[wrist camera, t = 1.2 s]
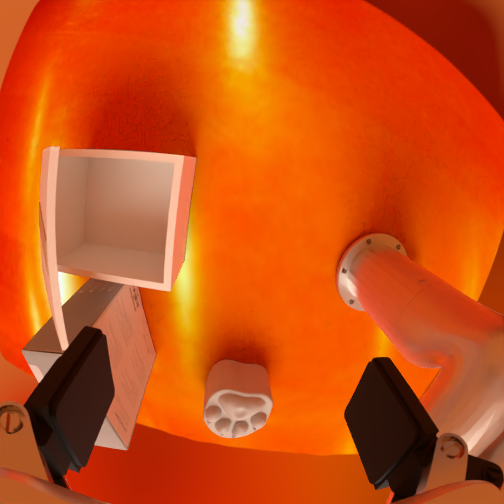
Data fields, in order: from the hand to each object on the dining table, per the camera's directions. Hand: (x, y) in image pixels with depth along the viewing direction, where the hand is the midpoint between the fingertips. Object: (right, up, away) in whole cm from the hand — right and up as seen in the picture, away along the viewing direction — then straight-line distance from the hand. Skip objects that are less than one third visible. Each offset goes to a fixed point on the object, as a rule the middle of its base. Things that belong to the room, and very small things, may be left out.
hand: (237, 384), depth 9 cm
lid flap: (-17, +6, +11) cm, 21 cm away
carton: (-16, +11, +27) cm, 33 cm away
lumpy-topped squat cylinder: (-3, -20, +38) cm, 43 cm away
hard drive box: (-19, -6, +32) cm, 38 cm away
